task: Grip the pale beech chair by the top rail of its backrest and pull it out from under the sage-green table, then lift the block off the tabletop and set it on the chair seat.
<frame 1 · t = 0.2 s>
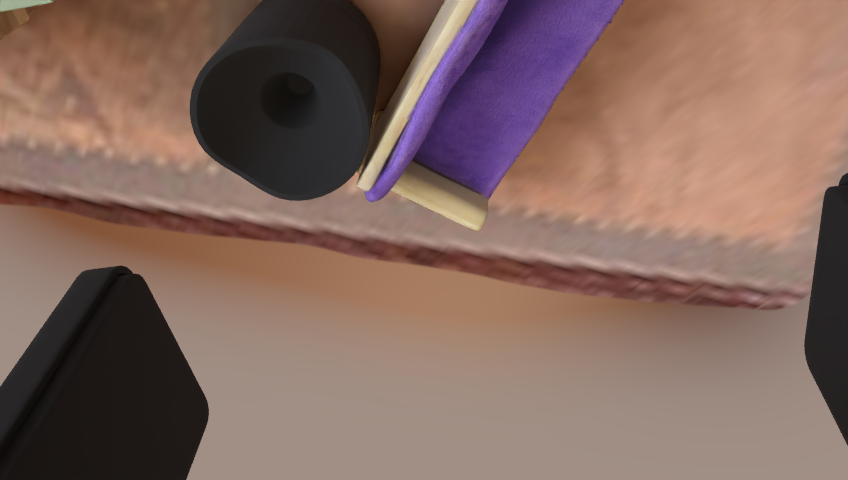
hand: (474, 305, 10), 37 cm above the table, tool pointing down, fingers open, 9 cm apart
toy sofa: (502, 21, 45), on the table
pen holder: (314, 51, 47), on the table
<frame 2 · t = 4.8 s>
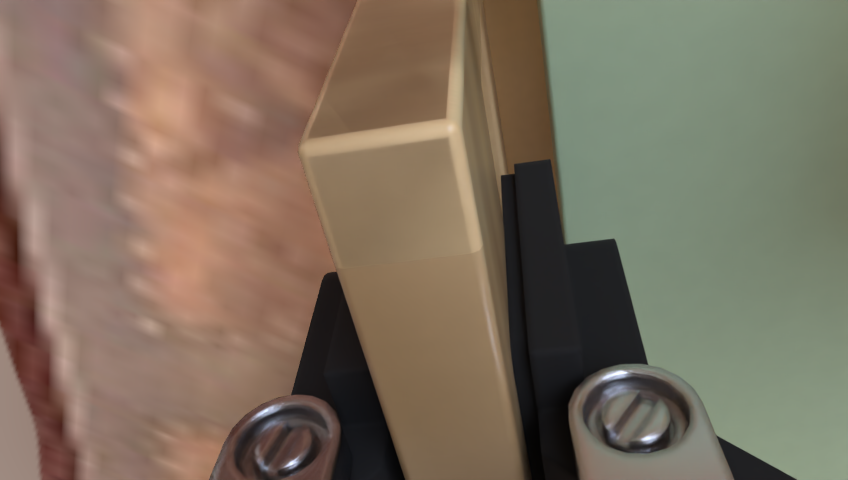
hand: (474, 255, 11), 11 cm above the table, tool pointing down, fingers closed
chair: (719, 121, 13), point 8 cm above the table, slide at 0.0 cm, touching gripper
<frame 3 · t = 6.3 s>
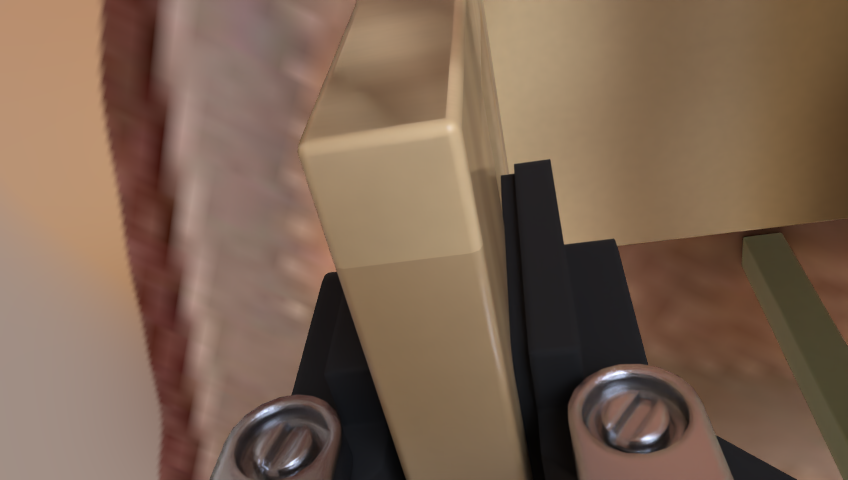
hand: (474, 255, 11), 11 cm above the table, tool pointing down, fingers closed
chair: (720, 120, 13), point 8 cm above the table, slide at 5.8 cm, touching gripper
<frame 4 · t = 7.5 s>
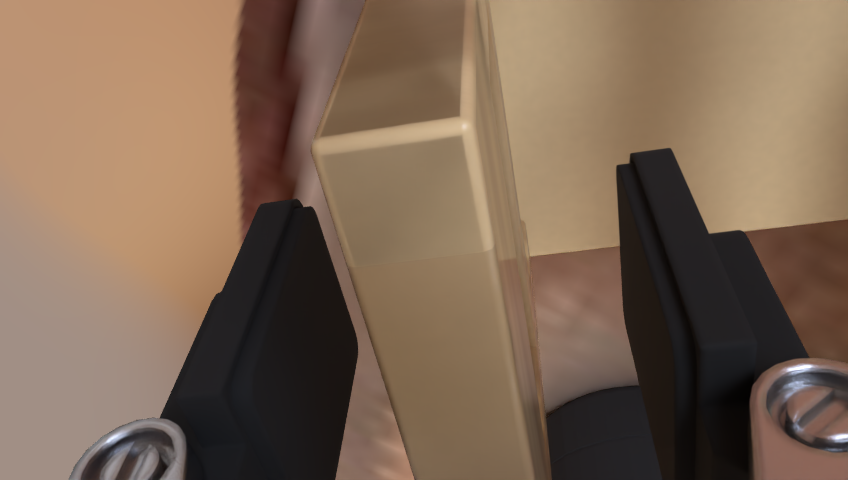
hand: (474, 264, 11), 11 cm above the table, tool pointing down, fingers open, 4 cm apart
chair: (725, 120, 13), point 8 cm above the table, slide at 9.9 cm
pen holder: (627, 450, 31), on the table
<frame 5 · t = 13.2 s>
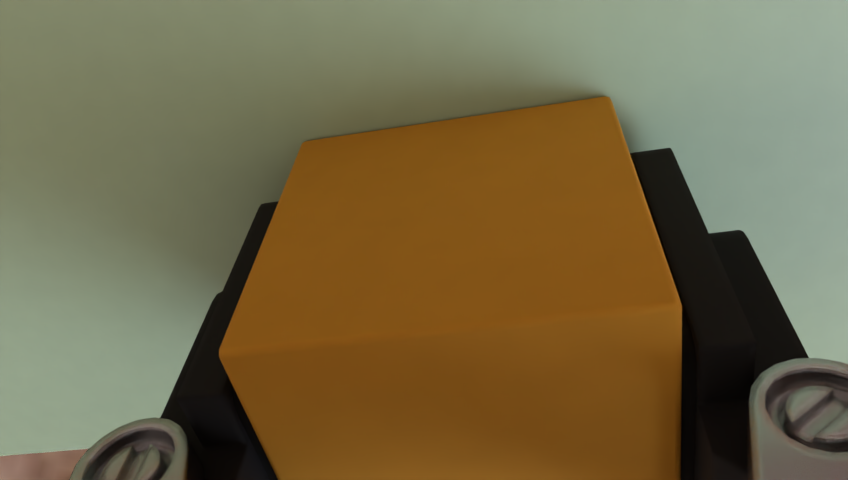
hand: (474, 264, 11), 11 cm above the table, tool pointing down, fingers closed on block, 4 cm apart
block: (474, 242, 12), point 10 cm above the table, touching gripper
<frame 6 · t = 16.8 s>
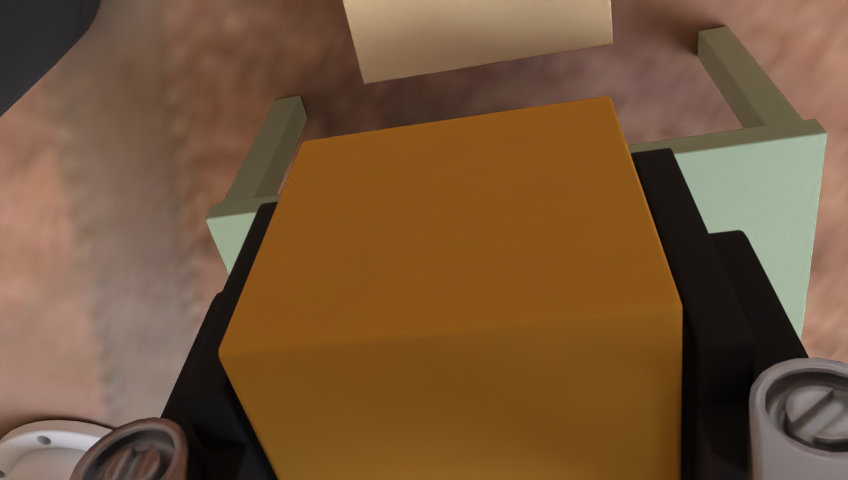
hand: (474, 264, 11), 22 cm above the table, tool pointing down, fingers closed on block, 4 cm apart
table: (508, 178, 35), on the table
block: (474, 242, 12), point 21 cm above the table, touching gripper
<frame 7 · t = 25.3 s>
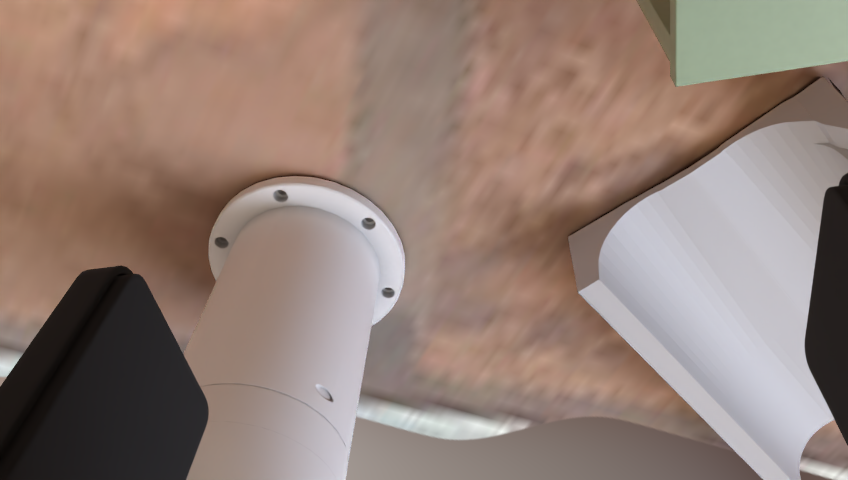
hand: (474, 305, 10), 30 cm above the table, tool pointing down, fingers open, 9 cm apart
grey storage tray: (820, 270, 47), on the table
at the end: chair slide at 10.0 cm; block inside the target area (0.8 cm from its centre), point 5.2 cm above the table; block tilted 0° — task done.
